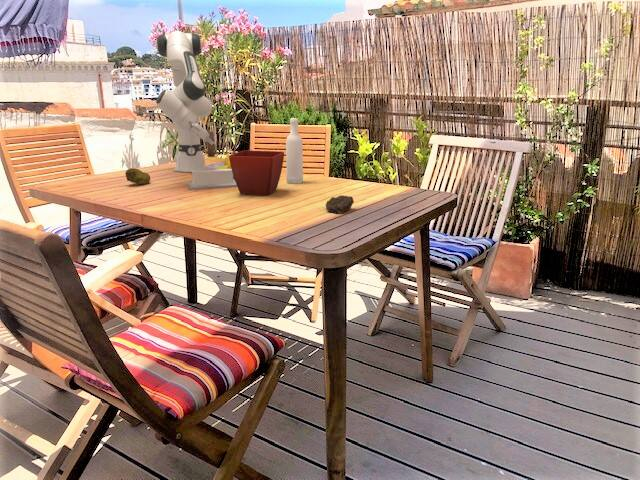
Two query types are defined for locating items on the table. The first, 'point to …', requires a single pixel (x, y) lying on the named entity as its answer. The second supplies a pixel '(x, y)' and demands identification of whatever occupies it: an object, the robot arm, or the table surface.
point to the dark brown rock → (339, 204)
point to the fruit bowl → (221, 165)
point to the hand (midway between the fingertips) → (212, 143)
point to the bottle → (294, 154)
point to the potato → (137, 176)
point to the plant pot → (257, 171)
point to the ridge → (212, 179)
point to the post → (211, 146)
